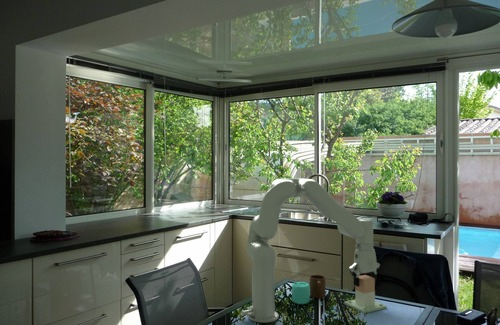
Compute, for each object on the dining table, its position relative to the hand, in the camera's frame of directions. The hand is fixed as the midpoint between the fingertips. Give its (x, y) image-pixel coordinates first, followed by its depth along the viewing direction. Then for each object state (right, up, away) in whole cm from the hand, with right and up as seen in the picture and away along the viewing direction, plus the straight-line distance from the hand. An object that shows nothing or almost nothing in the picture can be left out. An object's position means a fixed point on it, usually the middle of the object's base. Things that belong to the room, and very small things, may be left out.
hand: (364, 284), depth 181 cm
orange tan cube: (0, -3, 0) cm, 3 cm away
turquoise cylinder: (-28, -10, +7) cm, 31 cm away
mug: (-19, -10, +12) cm, 25 cm away
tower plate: (0, -10, 0) cm, 10 cm away
